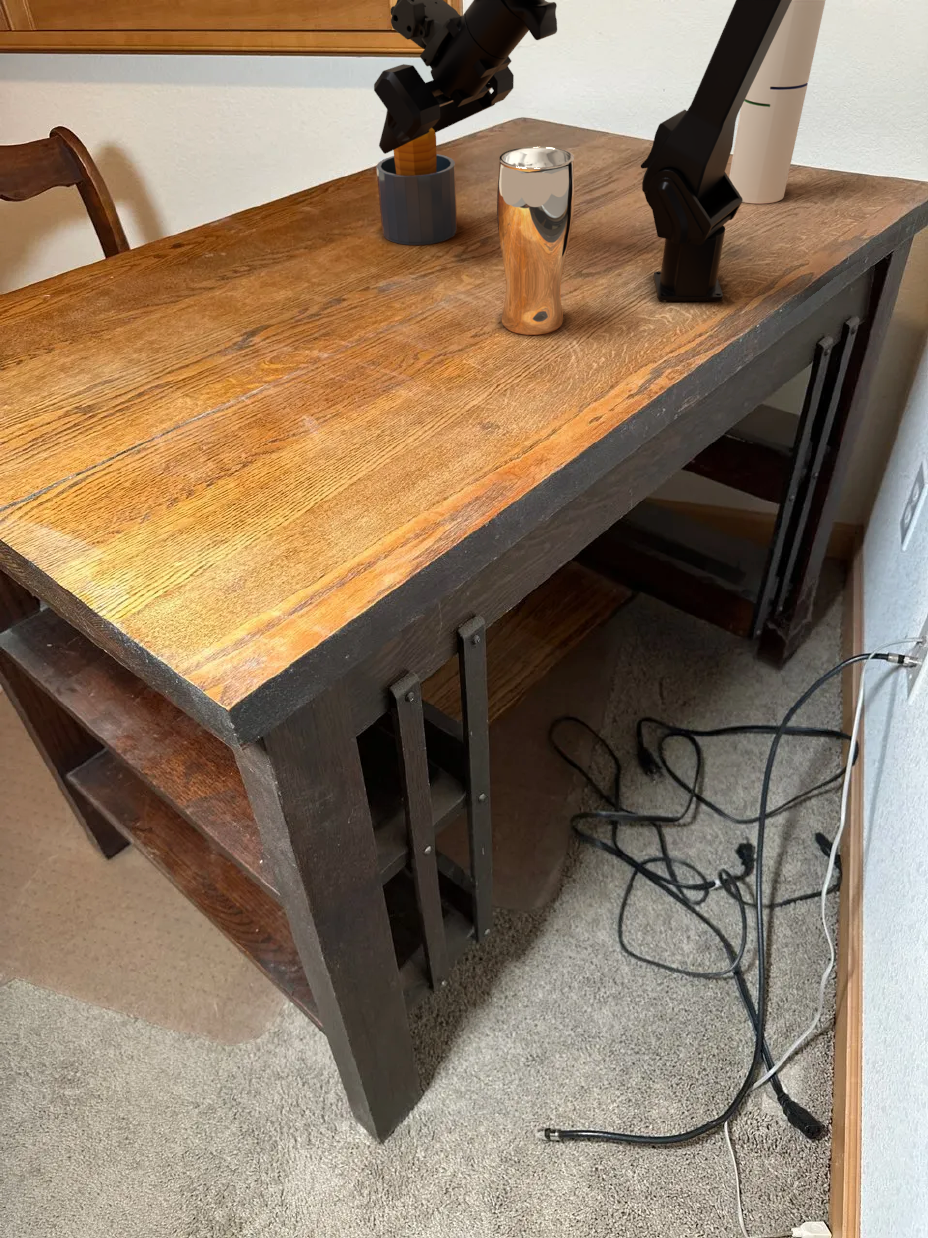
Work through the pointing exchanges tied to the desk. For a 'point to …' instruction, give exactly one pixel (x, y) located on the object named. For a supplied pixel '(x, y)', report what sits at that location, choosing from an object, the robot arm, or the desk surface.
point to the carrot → (417, 156)
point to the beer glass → (534, 234)
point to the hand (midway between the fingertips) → (407, 139)
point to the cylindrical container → (775, 107)
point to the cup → (418, 203)
